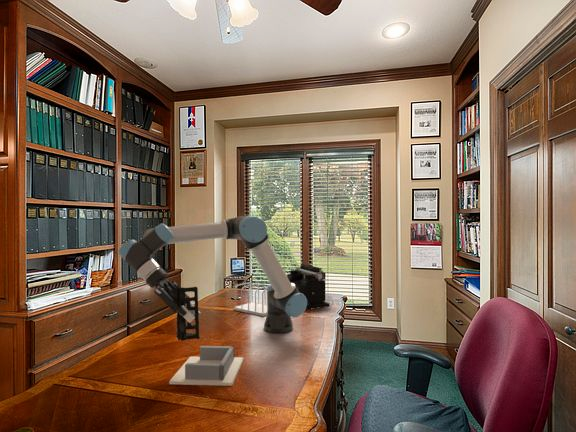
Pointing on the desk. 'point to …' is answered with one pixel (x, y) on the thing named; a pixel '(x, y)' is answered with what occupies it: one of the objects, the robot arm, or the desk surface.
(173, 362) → the desk surface
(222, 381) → the bay
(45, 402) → the desk surface
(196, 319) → the holder
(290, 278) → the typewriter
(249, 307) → the file sorter
